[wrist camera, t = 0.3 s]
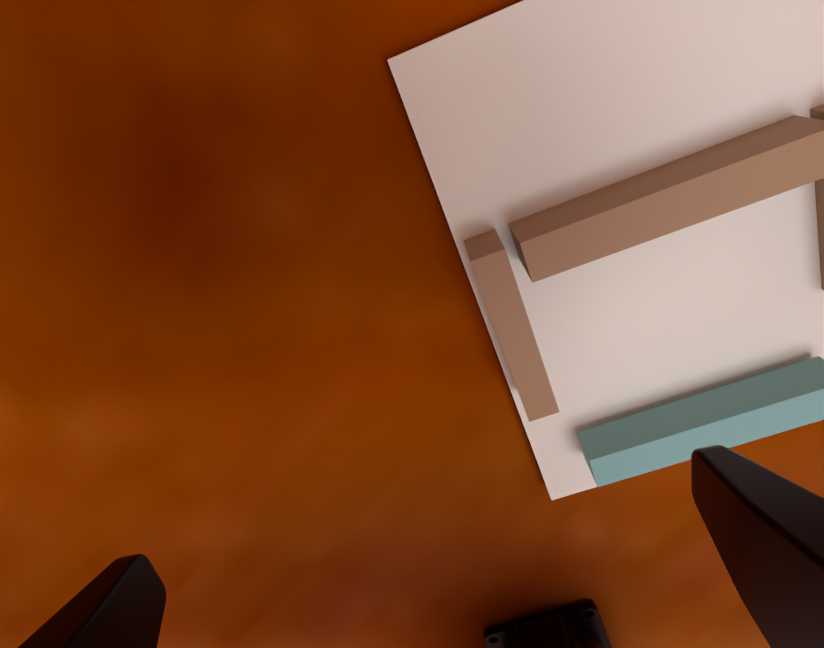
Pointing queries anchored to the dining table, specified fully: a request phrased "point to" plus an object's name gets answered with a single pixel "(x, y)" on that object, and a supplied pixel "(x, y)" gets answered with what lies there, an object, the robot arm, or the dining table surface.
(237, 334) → the dining table surface
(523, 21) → the seat board
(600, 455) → the bar
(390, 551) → the dining table surface
